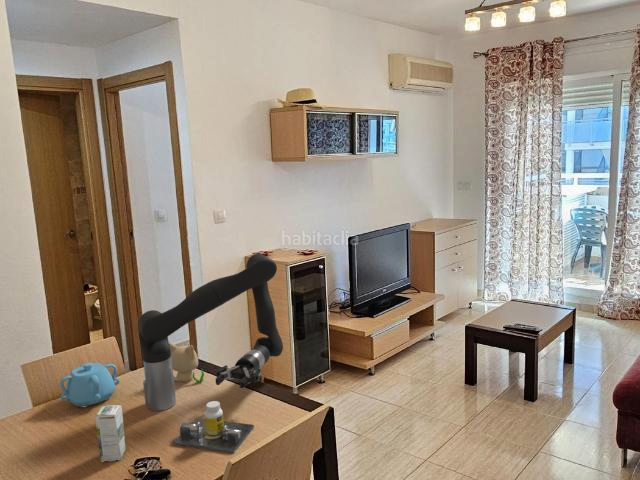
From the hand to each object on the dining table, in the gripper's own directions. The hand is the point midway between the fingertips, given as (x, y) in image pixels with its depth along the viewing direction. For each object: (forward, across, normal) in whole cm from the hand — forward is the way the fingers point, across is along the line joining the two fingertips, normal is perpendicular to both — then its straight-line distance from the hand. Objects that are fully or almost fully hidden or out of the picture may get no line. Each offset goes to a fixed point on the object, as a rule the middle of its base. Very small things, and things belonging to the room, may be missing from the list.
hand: (228, 383), depth 164 cm
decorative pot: (-1, -56, +13) cm, 58 cm away
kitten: (-22, -30, +12) cm, 39 cm away
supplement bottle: (+12, +1, +11) cm, 16 cm away
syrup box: (+27, -24, +13) cm, 38 cm away
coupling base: (+11, 0, +12) cm, 16 cm away
